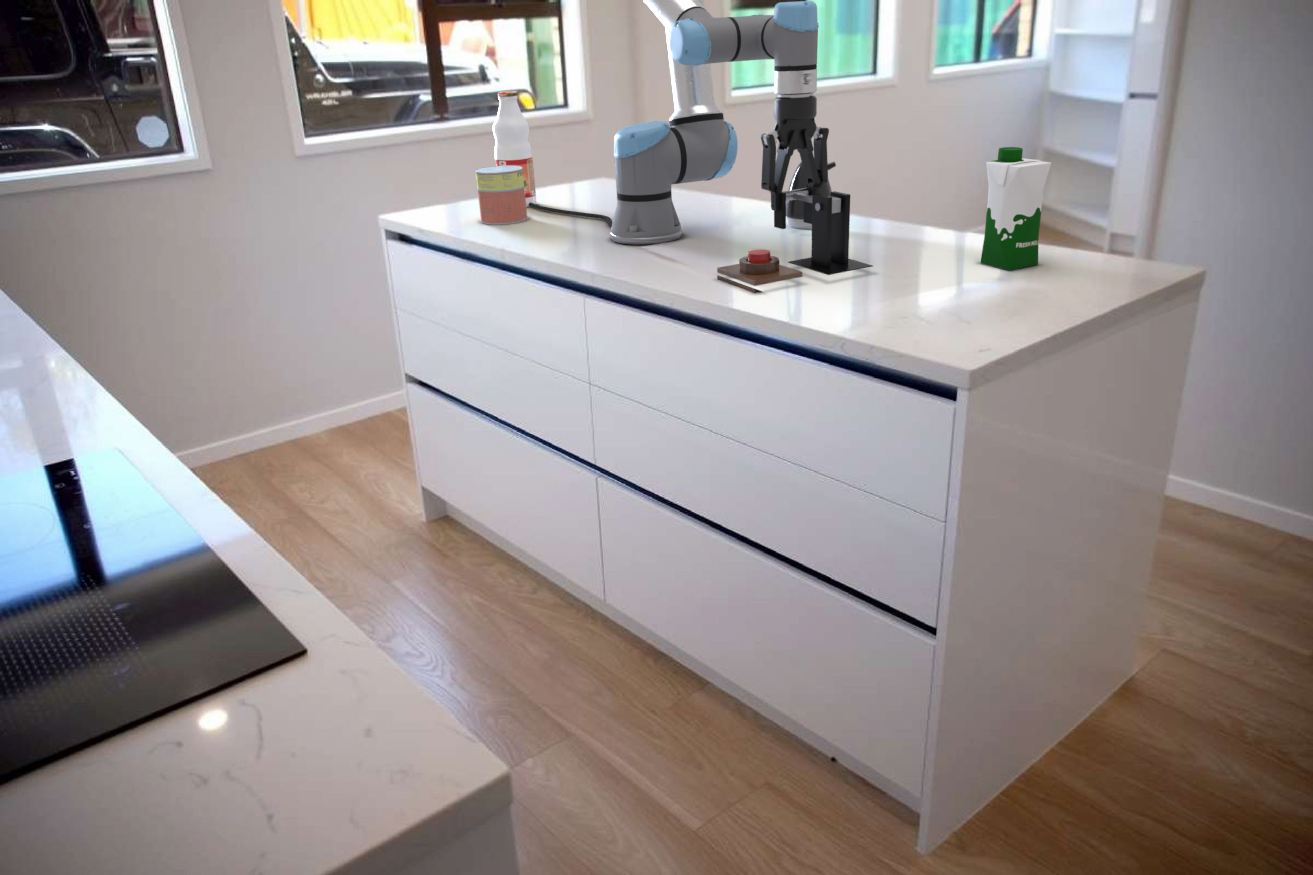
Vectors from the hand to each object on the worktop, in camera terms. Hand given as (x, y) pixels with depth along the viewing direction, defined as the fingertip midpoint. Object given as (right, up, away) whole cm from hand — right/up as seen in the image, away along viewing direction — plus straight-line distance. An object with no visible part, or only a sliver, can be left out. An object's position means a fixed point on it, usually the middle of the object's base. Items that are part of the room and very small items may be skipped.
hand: (794, 225), depth 187 cm
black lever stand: (+5, -10, -6) cm, 13 cm away
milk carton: (+38, -9, -7) cm, 39 cm away
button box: (-8, -12, -10) cm, 18 cm away
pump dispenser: (+7, +4, +26) cm, 27 cm away
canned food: (-63, +13, +54) cm, 84 cm away
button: (-8, -9, -12) cm, 17 cm away
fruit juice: (-62, +20, +71) cm, 96 cm away
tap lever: (+2, +2, -6) cm, 7 cm away
